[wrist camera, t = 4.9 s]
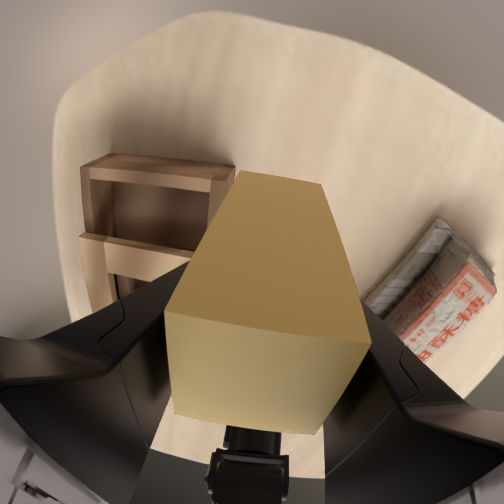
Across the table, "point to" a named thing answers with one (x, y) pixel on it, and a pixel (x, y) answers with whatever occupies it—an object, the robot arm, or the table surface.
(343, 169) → the table surface
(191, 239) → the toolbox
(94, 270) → the lid
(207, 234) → the yellow rectangular block
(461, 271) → the packaged product
